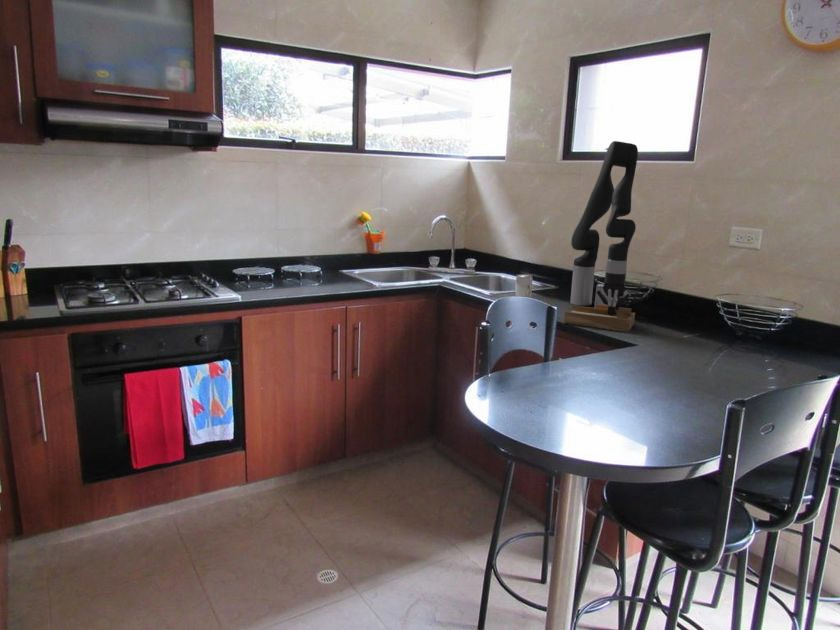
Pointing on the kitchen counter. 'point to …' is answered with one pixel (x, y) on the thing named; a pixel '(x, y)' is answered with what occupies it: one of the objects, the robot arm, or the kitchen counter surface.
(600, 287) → the skincare box
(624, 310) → the block
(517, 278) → the blue flashlight
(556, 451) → the kitchen counter surface
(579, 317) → the trap tray
